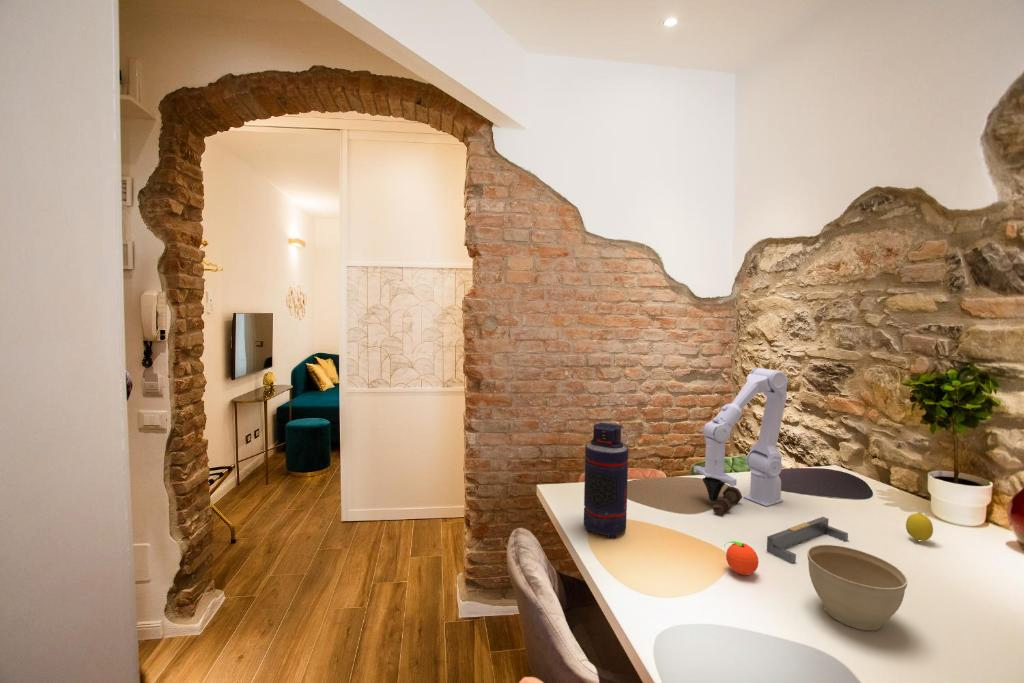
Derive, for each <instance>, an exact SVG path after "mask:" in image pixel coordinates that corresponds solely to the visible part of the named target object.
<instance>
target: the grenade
mask: <svg viewBox="0 0 1024 683" xmlns="http://www.w3.org/2000/svg"><path fill="white" fill-rule="evenodd" d="M622 427H623V425H622V424H616V423H609V422H602V421H601V422H599V423H595V424H594V425H593V437H592V439H591V440H590V441H589V442H587V443H586V444H585V448H584V449H585V450H584V457H585V458H584V488H583V489H584V490H583V491H584V492H583V493H584V495H583V496H584V497H583V526H584V527H585V530H586V531H587V533H590V532H593V533H596V534H600V535H606V536H607V537H608V539H616V538H617V535H620V534H622V533H624V532H625V531H626V529H627V511H628V509H627V507H628V479H629V478H628V475H629V462H628V461H629V447H628V444H629V436H628V432H627V431H626V430H625V429H622ZM623 433H625V435H626V442H625V441H624V437H623Z"/></svg>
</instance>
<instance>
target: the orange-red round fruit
mask: <svg viewBox="0 0 1024 683" xmlns="http://www.w3.org/2000/svg"><path fill="white" fill-rule="evenodd" d="M727 543H728V544H729V543H730V544H731V543H732V544H731V545H730V546H728V548H727V550H726V553H725V558H726V561H727V564H728V566H729V568H730V569H731V570H732V571H733V572H735V573H736V574H739V575H742V576H749V575H752V574H753V573H755V572H756V570H757V569H758V568H759V567H758V566H759V562H760V561H759V557H758V553H756V551H755V549H753V548H752V546H750V545H748V544H747V543H744V542H741V541H734V540H732V541H731V540H730V541H728V542H727ZM725 546H726V544H724V545H723V547H725Z"/></svg>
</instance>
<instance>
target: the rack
mask: <svg viewBox="0 0 1024 683" xmlns="http://www.w3.org/2000/svg"><path fill="white" fill-rule="evenodd" d="M823 535H828V536H830V537H832V538H834V539H837V538H838V539H837V540H840V541H842V540H843V541H842V542H847V541H848V539H849V533H848V532H846V531H843V530H841V529H838V528H835V527H833V526H830V525H829V518H828V517H825V516H821V517H818V518H815V519H813V520H810V521H807V522H803V523H800V524H797V525H794V526H791V527H788V528H787V529H785V530H782V531H779V532H777V533H773V534H771V535H770V534H769V535H768V536H766V537H767V538H766V552H767V553H769V554H771V555H773V556H775V557H777V558H779V559H781V560H783V561H786V562H787V563H790V564H795V563H796V561H797V560H796V559H797V554H796V553H794V552H792V551H789V550H788V549H790V548H793V547H794V546H797V545H799V544H802V543H804V542H807V541H809V540H812V539H815V538H817V537H820V536H823ZM846 540H847V541H846Z"/></svg>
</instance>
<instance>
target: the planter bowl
mask: <svg viewBox="0 0 1024 683" xmlns="http://www.w3.org/2000/svg"><path fill="white" fill-rule="evenodd" d="M806 554H807V561H808V563H807V565H808V572H809V576H810V580H811V584H812V586H813V588H814V591H815V593H816V595H817V596H818V598H819V599H820V600H821V602H822V607H823V609H824V610H825V612H826V613H827V614H828V616H830V617H832V618H833V619H834V620H836V621H838V622H840V623H842V624H844V625H845V626H848V627H850V628H851V627H852V628H854V629H859V630H862V631H876V630H879V629H880V628H881V627H882V624H883V622H885V621H888V620H889V619H890V618H891V617H892V616H893V615H895V614H896V613H897V612H898V610H899V609H900V607H901V605H902V603H903V601H904V597H905V592H906V589H907V587H908V578H907V576H906V574H904V573H903V571H902V570H900V568H898V567H896V565H893V564H892V563H890V562H888V561H887V560H884V559H883V558H881V557H879V556H876V555H873V554H872V553H871V554H870V553H869V552H865V551H862V550H859V549H856V548H852V547H848V546H847V547H846V546H844V545H835V544H834V545H833V544H817V545H814V546H811V547H810V548H808V549H807V553H806Z"/></svg>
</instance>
